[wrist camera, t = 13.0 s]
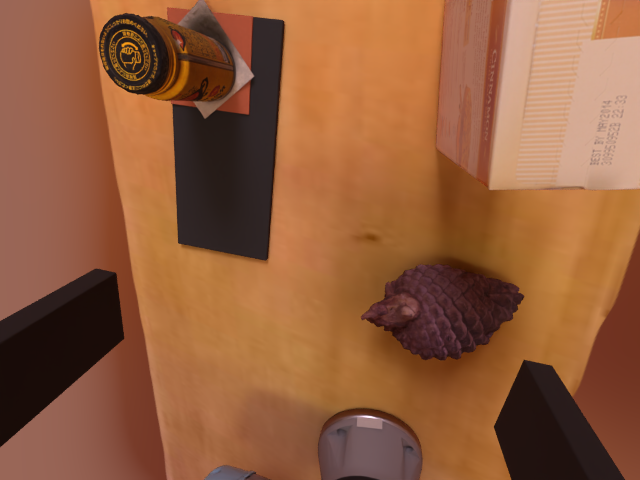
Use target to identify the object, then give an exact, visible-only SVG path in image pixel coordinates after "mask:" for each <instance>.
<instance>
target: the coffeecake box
mask: <svg viewBox="0 0 640 480" xmlns="http://www.w3.org/2000/svg"><path fill="white" fill-rule="evenodd" d="M436 149H437V150H439V151H440V152H441V153H442V154H444V155H445V156H446V157H448V158H449V159H450V160H452V161H453V162H454V163H456V164H457V165H458V166H460V167H461V168H462V169H464V170H465V171H466V172H468V173H469V174H470V175H472V176H473V177H474V178H476V179H477V180H478V181H480V182H481V183H482V184H484V185H485V186H486V187H488V188H489V190H575V189H588V190H620V189H640V0H445V10H444V25H443V41H442V57H441V71H440V87H439V103H438V120H437V138H436Z"/></svg>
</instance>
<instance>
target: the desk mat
mask: <svg viewBox="0 0 640 480" xmlns="http://www.w3.org/2000/svg"><path fill="white" fill-rule="evenodd" d="M189 11H190V10H186V9H177V8H167V15H168V21H170V22H173V23H175V24H178V23H179V22H180V21H181V20H182V19H183V18H184V17H185V15H186V14H187V13H188V12H189ZM212 13H213V15H214V16H215V18H216V19H217V21H218V22H219V24H220V25H221V27H222V29H223V30H224V32H225V33H226V34H227V36H228V37H229V39H230V40H231V42H232V43H233V45H234V46H235V48H236V49H237V51H238V52H239V54H240V55H241V57H242V58H243V60H244V61H245V63H246V64H247V66H248V67H249V69H250V70H251V72H252V74H253V75H254V77H253V78H252V79H251V80H249V81H248V82H247V83H246V84H245V85H244V86H243V87H242V88H240V89H239V90H238V91H237V92H236V93H235V94H234V95H233V96H231V97H230V98H229V99H228V100H227V101H226V102H224V103H223V104H222V105H221V106H220V107H219V108H217V109H216V110H215V111H214V112H213V113H211V114H210V115H209V116H208V117H207V118H204V116H203V115H202V113H201V112H200V110H199V109H198V108H197V106H196V105H195V103H194V102H193V101H174V100H171V104H173V127H174V151H175V176H176V200H177V224H178V243H179V244H184V245H189V246H195V247H200V248H205V249H210V250H215V251H220V252H225V253H230V254H235V255H240V256H245V257H250V258H255V259H261V260H267V259H268V247H269V233H270V219H271V205H272V190H273V176H274V162H275V148H276V134H277V119H278V105H279V91H280V77H281V63H282V49H283V34H284V21H283V20H276V19H267V18H257V17H252V16H244V15H234V14H224V13H215V12H212Z"/></svg>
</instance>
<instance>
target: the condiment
mask: <svg viewBox="0 0 640 480" xmlns="http://www.w3.org/2000/svg"><path fill="white" fill-rule="evenodd" d="M99 51H100V56H101V60H102V63H103V67H104V69H105V70H106V72H107V73H108V75H109V76H110V78H111V79H112V80H113V81H114V83H116V84H117V86H119V87H121V88H123V89H125V90H126V91H127V92H131V93H136V94H143V95H146V96H148V97H151V98H153V99H157V100H165V101H171V100H174V101H193V102H194V103H195V105H196V106H197V108H198V109H199V110H200V112H201V113H202V115H203V116H204V118H207V117H208V116H209V115H210V114H211V113H213V112H214V111H215V110H216V109H217V108H219V107H220V106H221V105H222V104H223V103H224V102H226V101H227V100H228V99H229V98H230V97H231V96H233V95H234V94H235V93H236V92H237V91H238V90H239V89H240V88H242V87H243V86H244V85H245V84H246V83H247V82H248V81H249V80H251V79H252V78H253V77H254V75H253V74H252V72H251V70H250V69H249V67H248V66H247V64H246V63H245V61H244V60H243V58H242V57H241V55H240V54H239V52H238V51H237V49H236V48H235V46H234V45H233V43H232V42H231V40H230V39H229V37H228V36H227V34H226V33H225V32H224V30H223V29H222V27H221V25H220V24H219V22H218V21H217V19H216V18H215V16H214V15H213V13H212V12H211V10H210V9H209V8H208V6H207V5H206V3H205V1H204V0H199V1H198V2H197V3H196V5H195V6H194V7H193V8H192V9H191V10H190V11H189V12H188V13H187V14H186V15H185V17H184V18H183V19H182V20H181V21H180V22H179V23H178V24H175V23H173V22H170V21H167V20H165V19H162V18H159V17H153V16H148V17H140V16H139V15H135V14H128V13H125V14H123V15H121V14H120V15H117V16H114V17H113V18H111V19H110V20H109V21H108V22H107V23H106V24H105V25H104V27H103V30H102V32H101V33H100V41H99Z"/></svg>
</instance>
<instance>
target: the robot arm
mask: <svg viewBox="0 0 640 480" xmlns="http://www.w3.org/2000/svg"><path fill="white" fill-rule="evenodd" d="M123 339H124V332H123V324H122V316H121V308H120V300H119V292H118V284H117V275H116V273H115V272H109V271H105V270H101V269H94V270H92V271H90V272H89V273H87V274H85V275H83V276H81V277H80V278H78V279H76V280H74V281H72V282H70V283H69V284H67V285H65V286H63V287H61V288H60V289H58V290H56V291H54V292H52V293H51V294H49V295H47V296H45V297H43V298H42V299H40V300H38V301H36V302H34V303H32V304H31V305H29V306H27V307H25V308H23V309H21V310H20V311H18V312H16V313H14V314H12V315H11V316H9V317H7V318H5V319H3V320H1V321H0V447H1V446H2V445H3V444H4V443H6V442H7V441H8V440H9V439H10V438H11V437H12V436H14V435H15V434H16V433H17V432H18V431H19V430H20V429H22V428H23V427H24V426H25V425H26V424H27V423H28V422H30V421H31V420H32V419H33V418H34V417H35V416H36V415H38V414H39V413H40V412H41V411H42V410H43V409H44V408H45V407H47V406H48V405H49V404H50V403H51V402H52V401H53V400H55V399H56V398H57V397H58V396H59V395H60V394H62V393H63V392H64V391H65V390H66V389H67V388H68V387H69V386H71V385H72V384H73V383H74V382H75V381H76V380H77V379H78V378H80V377H81V376H82V375H83V374H84V373H85V372H87V371H88V370H89V369H90V368H91V367H92V366H93V365H95V364H96V363H97V362H98V361H99V360H100V359H101V358H102V357H104V356H105V355H106V354H107V353H108V352H109V351H111V349H113V348H114V347H115V346H116V345H117V344H118V343H120V342H121V341H122V340H123ZM494 429H495V432H496V435H497V438H498V441H499V444H500V447H501V450H502V453H503V456H504V459H505V462H506V465H507V468H508V471H509V474H510V477H511V480H625V479H624V477H623V476H622V474H621V473H620V471H619V470H618V468H617V466H616V465H615V463H614V462H613V460H612V459H611V457H610V456H609V454H608V452H607V451H606V449H605V448H604V446H603V445H602V443H601V442H600V440H599V438H598V437H597V435H596V434H595V432H594V431H593V429H592V428H591V426H590V424H589V423H588V422H587V420H586V418H585V417H584V416H583V413H582V412H581V410H580V409H579V407H578V406H577V404H576V403H575V401H574V399H573V398H572V396H571V395H570V393H569V392H568V390H567V388H566V387H565V385H564V384H563V382H562V381H561V379H560V378H559V376H558V374H557V373H556V371H555V370H554V368H553V367H552V366H550V365H546V364H541V363H536V362H532V361H527V360H524V361H523V363H522V365H521V368H520V370H519V372H518V374H517V377H516V379H515V381H514V383H513V385H512V388H511V390H510V392H509V394H508V397H507V399H506V401H505V403H504V405H503V408H502V410H501V412H500V414H499V417H498V419H497V421H496V423H495V425H494ZM318 457H319V464H320V472H321V480H419V478H420V474H421V470H422V451H421V445H420V442H419V440H418V438H417V436H416V434H415V433H414V432H413V430H412V429H411V428H410V427H409V426H408V425H407V424H405V423H404V422H403V421H401V420H400V419H398V418H396V417H394V416H392V415H390V414H387V413H385V412H381V411H377V410H372V409H351V410H346V411H343V412H340V413H338V414H336V415H334V416H333V417H331V418H330V419H329V420H328V421H327V422H326V423H325V424H324V426H323V428H322V430H321V433H320V438H319V443H318ZM204 480H270V479H267V478H265V477H262V476H259V475H257V474H256V472H254V471H245V470H242V469H239V468H236V467H232V466H229V465H223V466H220V467H217V468H216V469H214V470H213V471H212V472H211V473H210V474H209V475H208V476H207V477H206V478H205V479H204Z"/></svg>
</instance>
